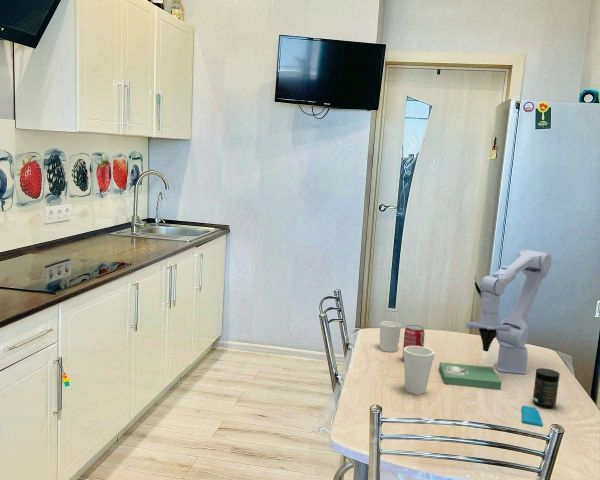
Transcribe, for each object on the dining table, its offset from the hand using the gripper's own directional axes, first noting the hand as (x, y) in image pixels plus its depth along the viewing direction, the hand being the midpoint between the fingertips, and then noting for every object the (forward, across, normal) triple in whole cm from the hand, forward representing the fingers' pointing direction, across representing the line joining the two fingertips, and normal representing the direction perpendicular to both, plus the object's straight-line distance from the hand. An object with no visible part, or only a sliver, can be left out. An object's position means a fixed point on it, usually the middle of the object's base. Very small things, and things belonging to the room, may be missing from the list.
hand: (485, 350), depth 200 cm
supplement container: (+10, +14, -20) cm, 26 cm away
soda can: (+10, -23, +8) cm, 27 cm away
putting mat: (+9, -5, -4) cm, 11 cm away
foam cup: (+9, -25, -18) cm, 32 cm away
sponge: (+10, +8, -30) cm, 33 cm away
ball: (+7, -10, -4) cm, 13 cm away
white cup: (+10, -31, +21) cm, 39 cm away
